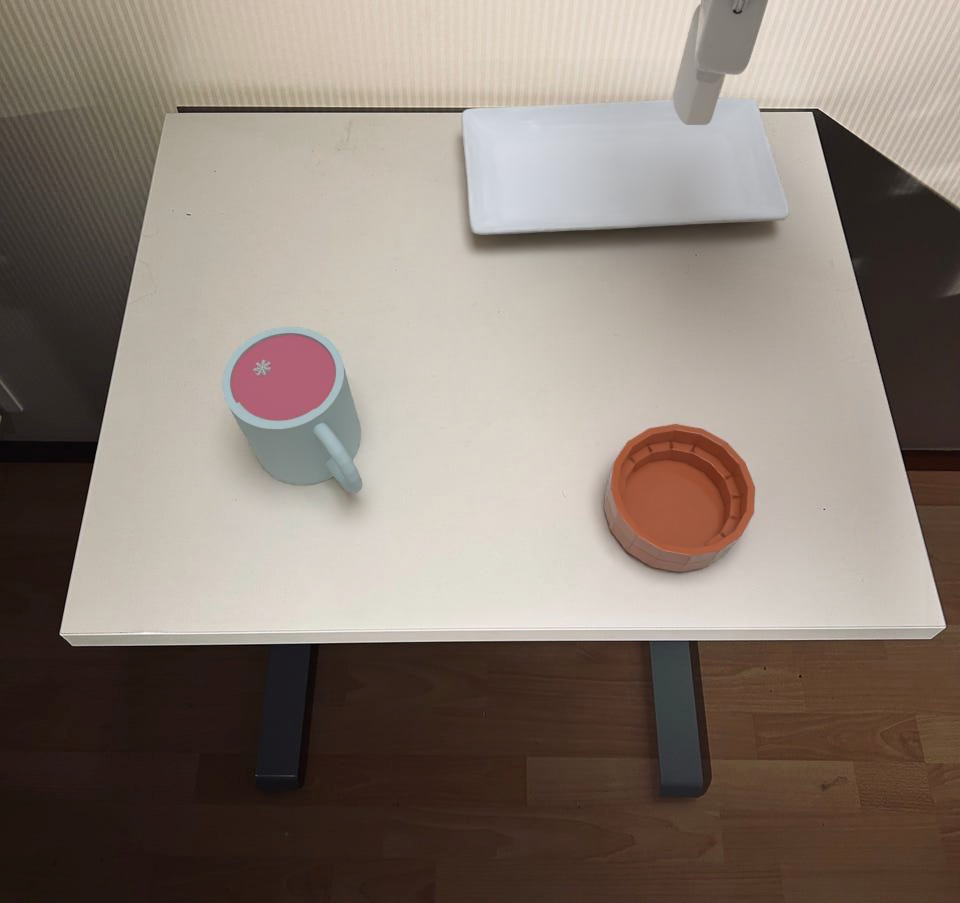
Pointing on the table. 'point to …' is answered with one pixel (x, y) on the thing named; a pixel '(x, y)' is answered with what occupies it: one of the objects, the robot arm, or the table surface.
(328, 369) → the mug
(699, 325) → the table surface
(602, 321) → the table surface
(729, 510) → the bowl
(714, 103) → the eye dropper bottle
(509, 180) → the tray
